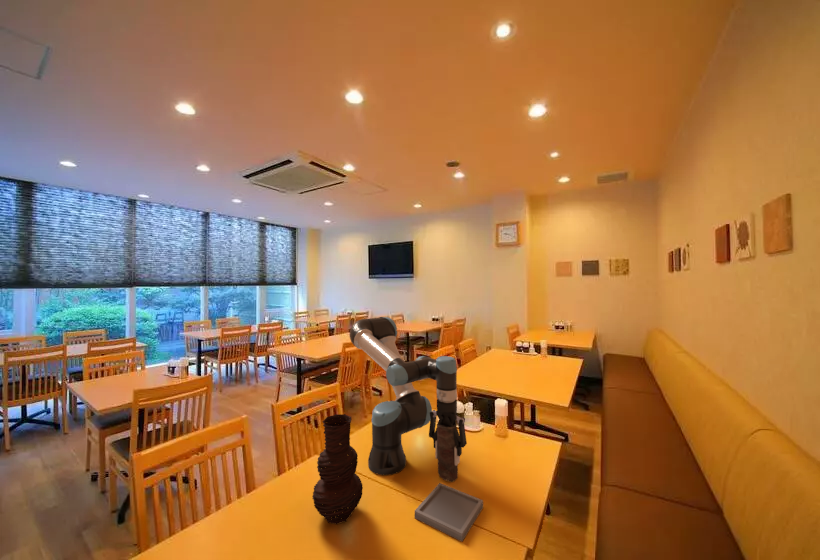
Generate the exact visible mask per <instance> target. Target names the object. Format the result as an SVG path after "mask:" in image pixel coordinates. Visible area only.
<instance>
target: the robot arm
mask: <svg viewBox="0 0 820 560" xmlns="http://www.w3.org/2000/svg"><path fill="white" fill-rule="evenodd" d="M397 336H398V326H397V324H396V322H395V321H394V320H393V319H392V318H391V317H388V316H385V317H384V316H379V317H373V318H372V317H371V318H362V319H358V320H357V321H355V322H354V323H353V324H352V325H351V327H350V330H349V339H350V341H351V343H352V344H353V346H354V347H355V348H356V349H359V350H362V351H363V352H364V353H366V355H368V357H370V358H371V359H372V360H373V361H374V362H375V363H376V364H378V366H379V367H381V368H382V369H383V370H384V371H385V376H386V377H385V378H386V379H387V382H388V383H389V385H390V386H392V389H393V392H394V395H395V397H396V398H395V400H390V401H388V400H386V401H382V402H380V403H378V404H377V405H375V406H374V408H373V409H372V412H371V413H372V414H371V415H372V416H371V430H372V431H371V434H372V435H371V437H372V440H371V442H372V444H371V448H370V452H369V456H368V458H367V459H368V460H367V466H368V469H369V470H370V471H371V472H372V473H374V474H377V475H380V476H391V475H395V474H398V473H400V472H401V471H403V470H404V469H405V468H406V465H407V457H406V453H405V451H404V447H403V443H402V435H404V434H407V433H409V432H412V431H414V430H417V429H421V428H422V427H424V426H427V425H428V424H429V428H428V429H429V430H428V438H431V439H432V440H433V448H434V449H435V453H434V454H435V459H436V460H438V444H437V427H436V426H437V424H440V425H441V424H446V425H448V426H449V427H454V426H456V428H455V429H454V441H455V444H456V446H455V447H454V453H455V465H456V466H457V465H458V464H460V462H461V461H460V460H461V458H460V456H462V454H463V452H462V450H463V449H462V448H464V447H466V445H467V444H468V443H467V437H466V436H467V435H466V427H465V422H466V418H465V417H461V416H459V415H458V413H457V412H458V400H457V398H458V393H457V389H458V386H457V385H458V383H457V382H458V381H457V373H458V372H457V371H458V368H457V359H456V358H454V357H453V356H447V355H442V356H438V357H437V358H436V359H435V358H431V357H430V356H425V355H422V356H421V355H420V356H417V358H416V359H415V360H411V361H405V360H403V359H402V356H401V354H400V352H399V349H398V348H397V345H396V341H397ZM426 379H431V380H434V381H436V410H435V409H432V403H431V401H430V400H429V399H428V398H427V397H426V396H424V395H422V394H421V393H420V391H419V390H418V389H416V388H415V387H414V385H413V382H417V381H423V380H426ZM437 419H439V420H438V422H437ZM452 424H453V425H452ZM457 424H458V426H457Z"/></svg>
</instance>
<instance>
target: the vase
mask: <svg viewBox="0 0 820 560" xmlns="http://www.w3.org/2000/svg"><path fill="white" fill-rule="evenodd" d="M352 419H353V418H352V416H351V415H350V416H349V415H347V414H346V413H344V414H336V413H335V414H333V415H330V416H326V417H325V418H324V419H323V420H322V421H321V422H322V423H323V425H322V426H323V427H324V428H323V430H324V431H323V434H324V441H325V442H324V445H325V446H324V449H323V451H321V452H319V456H318V457H317V461H316V464H317V467H316V468H317V472H318V476H319V480H317V482H316V484H315V485H313V492H312V500H313V507H314V508H315V509H316V511H317V513H318V514H319V515H320V516H322V517H323V518H324V519H325V520H326V522H327V523H329V524H332V525H338V524H341V523H345V522H347V520H348V519H349V518H350V517H351V516H352V513H354V511H355V509H357V507H358V505H359V504H360V501H361V500H362V497H363V490H364V489H363V483H362V480H361V478H360V476H359V475H358V474H357V473H356V471H357V466H358V462H359V461H358V460H359V459H358V452H357V451H356V450H355V448H354V447H353V446H352V445H350V444H351V437H350V435H351V424H352Z"/></svg>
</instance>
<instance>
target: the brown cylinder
mask: <svg viewBox="0 0 820 560" xmlns="http://www.w3.org/2000/svg"><path fill="white" fill-rule="evenodd" d="M452 425H453V424H452ZM456 427H457V425H456V426H454V427H449V426H448V425H446V424H441V425H440V424H438V423H436V428H437V444H438V459H437V473H438V476H439V478H441V479H442V480H443V481H446V482H449V483H453V482H455V481H456V480H458V478H459V477H458V476H459V470H458V469H459V466H458V465H457V466H456V465H455V453H454V447H455V446H456V444H455V441H454V429H455V428H456Z"/></svg>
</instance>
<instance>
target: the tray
mask: <svg viewBox="0 0 820 560" xmlns="http://www.w3.org/2000/svg"><path fill="white" fill-rule="evenodd" d="M483 508H484V499H481V498H478V497H476V496H473V495H470V494H468V493H466V492H463V491H462V490H458V489H457V488H453V487H451V486H449V485H446V484H443V483H441V482H438V484H437V485H436V486H435V487H434V489H432V490H431V492H430V493H429V494H428V495H427V496H426V498H424V500H423V501H422V502H420V504H419V505H418V506H417V507H416V508H415V510H414V519H416V520H417V521H419V522H422V523H424V524H425V525H428V526H429V527H432V528H434V529H435V530H438V531H439V532H442V533H444V534H446V535H448V536H449V537H452V538H454V539H456V540H458V541H460V542H463V541H464V540H465V538H466V536H467V535H468V533H469V531H470V529H471V528H472V526H473V525H474V523H475V522H476V520H477V519H478V517H479V515H480V513H481V512H482V511H483Z"/></svg>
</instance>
